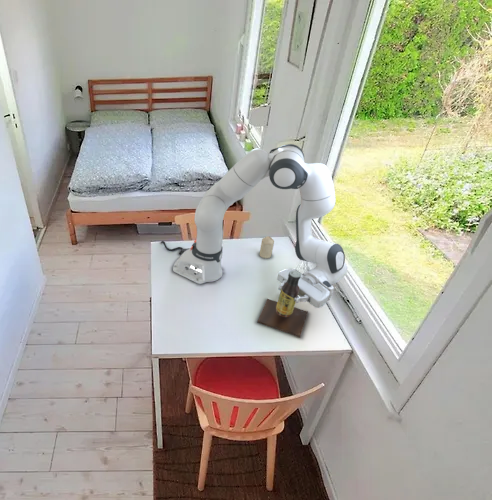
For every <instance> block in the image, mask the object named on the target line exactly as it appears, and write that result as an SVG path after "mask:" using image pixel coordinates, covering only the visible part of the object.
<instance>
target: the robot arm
mask: <svg viewBox="0 0 492 500" xmlns="http://www.w3.org/2000/svg"><path fill="white" fill-rule="evenodd" d="M267 177H268V178H269V181H270V183H271V185H273V186H274V187H275V188H277V189H280V190H291V189H292V190H299V193H300V194H299V195H300V203H299V205H298V206H297V208H296V211H295V235H296V237H295V238H296V241H295V247H294V251H295V255H296V257H297V258H298V260H299V261H303V262H309V263H313V264H315V265H316V266H315V267H313V268H311V269H309V270H307V271H305V272H300V271H298V270H297V269H296V268H290V267H289V268H286V269H283V270H282V269H281V270H280V271H278V273H277V275H276V280H277V282H279V283H281V284H280V285H278V288H277V289H278V290H279V291H281V288H282V287H283V285H284V284H285V283H286V282H287V280H288V277H289V276H288V275H289V272H290V271H292V270H294V271H298V272H299V273H300V274H301V277H300V279H299V281H298V286H299V293H298V296H296V297H295V298H294V301H295V302H296V303H295V304H298V303H306V302H307V303H308V304H309V305H311V306H313V307H314V308H315V309H320V308H322V307H324V306H326V304H328V302H330V300H331V298H332V296H333V295H334V289H335V287H334V286H333V285H335V284H336V283H339V282H340V281H341V280H342V279H344V278H345V276H346V275H347V273H348V265H347V263H346V255H345V251H344V249H343V247H342V246H341V244H339V243H336V242H332V241H328V240H323V239H320V238H317V237H315V236H314V235H313V233H312V220H314V219H319V218H323V217H325V216H326V215H328V214H330V212H332V210H333V209H334V208H335V206H336V192H335V185H334V181H333V178H332V174H331V171H330V169H329V168H328V166H327V165H326V164H325V163H321V162H312V163H307V162H305V153H304V151H303V149H302V148H300V147H299V145H297V144H293V143H287V144H284V145H281V146H279V147H275V148H273V149H270V151H269V152H267V151H266V150H265V149H263V148H260V147H259V148H254V149H251V150H249V152H247V153H246V154H244V155H243V156H242V157H241V158H240V159H238V161H237V162H236V163H234V165H232V167H231V168H229V170H228V171H227V172H226V173H225V174H224V175H223V176H222V177H221V178H220V179H219V180H218V181H217V182H215V183H214V184H213V185H212V186H211V187H209V189H208V190H207V191H205V192H204V194H203V195H202V197H201V199H200V201H199V203H198V205H197V207H196V208H195V211H194V219H193V220H194V224H195V226H196V238H195V239H194V241H193V243H192V245H191V247H190V248H183V247H181V246H177V247H174V248H169V247H168V246H167V244H166V242H165V241H164V240H161V241H160V243H162V244H163V246H164V248H165V250H167V251H169V252H174V251H177V250H180V251H179V252H178V254H179V255H180V257H178V258H177V259H176V260H175V262H174V263H173V266H172V272H174V273H175V274H177V275H179V276H181V277H183V278H185V279H188V280H190V281H191V282H194V283H195V284H197V285H203V284H205V283H212V282H216V281H218V280H220V279H221V278H222V276H223V269H222V268H223V267H222V258H223V240H224V230H223V227H224V226H223V224H224V217H225V214H226V213H227V210H228V209H229V208H230V206H232V205H234V203H236V202H238V201H240V200H243V198H244V197H245V196H246V195H247V194H248V193H249V192H251V191H252V190H253V189H254V188H255V187H256V186H258V184H259V183H260V182H261V181H262V180H264V179H266V178H267Z"/></svg>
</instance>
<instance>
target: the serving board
mask: <svg viewBox="0 0 492 500" xmlns="http://www.w3.org/2000/svg"><path fill="white" fill-rule="evenodd" d="M277 302H278V301H276V300H273V299H270V298H267V299H266V300H265V303H264V305H263V307H262V310H261V312H260V314H259V317H258V319H257V321H256V322H257V324H259V325H262V326H265V327H268V328H272V329H274V330H276V331H280V332H281V333H282V332H283V333H285V334H288V335H292V336H294V337H297V338H301V336H302V333H303V330H304V326H305V324H306V320H307V317H308V313H309V311H308V310H304V309H301V308H299V307H294V310H293V313H292V314H291V316H289V317H282V316H280V315H278V314H277V312H276V306H277Z"/></svg>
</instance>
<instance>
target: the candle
mask: <svg viewBox="0 0 492 500" xmlns="http://www.w3.org/2000/svg"><path fill="white" fill-rule="evenodd" d="M274 245H275V240H274V238H272V236H267V235H266V236H265V237H263V238H261V243H260V248H259V256H260V257H261V258H262V259H270V258H271V257H272V254H273V249H274Z"/></svg>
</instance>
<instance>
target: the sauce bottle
mask: <svg viewBox="0 0 492 500" xmlns="http://www.w3.org/2000/svg"><path fill="white" fill-rule="evenodd" d="M299 272H300V271H299V270H297V271H294V270H292V271H290V272H289V275H288V276H289V277H288V280H287V282H286V283H285V284H284V285H283V287H282V288H281V291H280V290H279V291H280V292H279V295H278V299H277V301H276V302H277V306H276V312H277V314H278V315H280V316H282V317H289V316H291V314H292V313H293V310H294V307H295V306H296V304H297V303H296V302H295V301H294V298H295V297H296V296H299V295H298V293H299V286H298V281H299V279H300V277H301V274H300V273H301V272H300V273H299ZM295 308H296V307H295Z"/></svg>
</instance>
